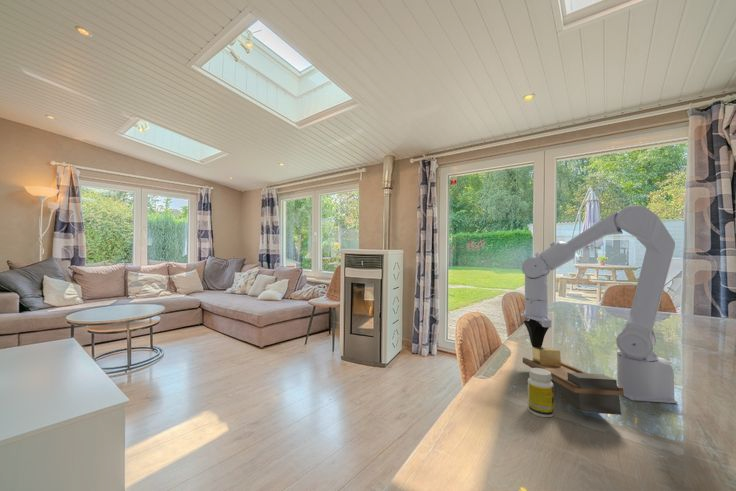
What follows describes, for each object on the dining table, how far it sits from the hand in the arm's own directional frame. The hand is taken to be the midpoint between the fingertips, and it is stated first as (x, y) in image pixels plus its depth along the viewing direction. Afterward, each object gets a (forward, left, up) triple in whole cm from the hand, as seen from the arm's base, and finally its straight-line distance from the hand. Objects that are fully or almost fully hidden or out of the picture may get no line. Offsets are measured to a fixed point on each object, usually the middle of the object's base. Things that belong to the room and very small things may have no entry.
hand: (536, 346), depth 87 cm
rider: (0, +6, -3) cm, 7 cm away
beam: (0, +16, -6) cm, 17 cm away
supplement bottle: (+9, +25, -6) cm, 28 cm away
